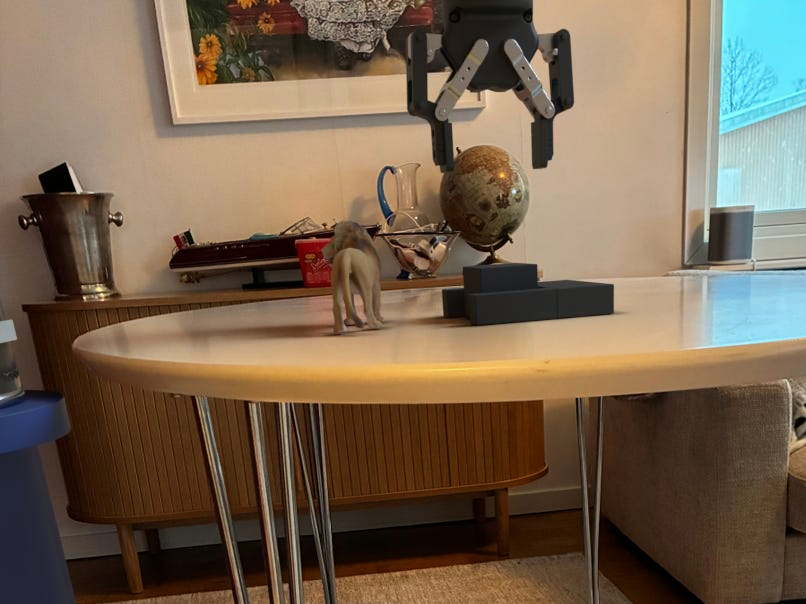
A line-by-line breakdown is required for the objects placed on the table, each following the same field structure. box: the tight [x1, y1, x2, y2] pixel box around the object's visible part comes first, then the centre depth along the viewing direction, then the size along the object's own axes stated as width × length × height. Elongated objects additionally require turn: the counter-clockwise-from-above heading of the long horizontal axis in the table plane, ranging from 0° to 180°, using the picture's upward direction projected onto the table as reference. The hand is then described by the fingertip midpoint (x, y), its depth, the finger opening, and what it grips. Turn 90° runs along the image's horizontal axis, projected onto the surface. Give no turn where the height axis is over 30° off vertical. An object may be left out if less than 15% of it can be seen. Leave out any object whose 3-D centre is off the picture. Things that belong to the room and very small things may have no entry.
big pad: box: [441, 279, 615, 326], centre depth 89 cm, size 13×11×2 cm
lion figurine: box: [320, 219, 385, 334], centre depth 86 cm, size 15×5×9 cm, turn 10°
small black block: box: [462, 262, 539, 319], centre depth 88 cm, size 5×5×4 cm
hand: (493, 170), depth 84 cm, fingers open, 8 cm apart
